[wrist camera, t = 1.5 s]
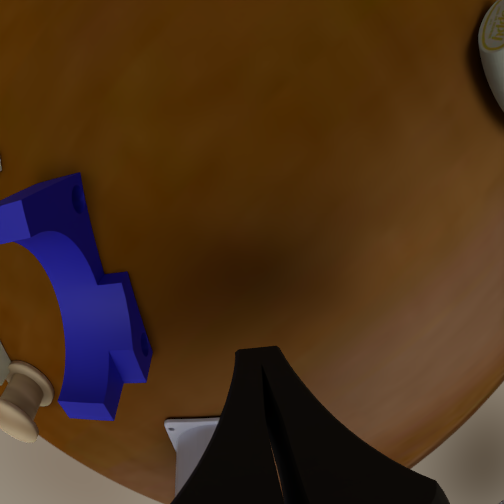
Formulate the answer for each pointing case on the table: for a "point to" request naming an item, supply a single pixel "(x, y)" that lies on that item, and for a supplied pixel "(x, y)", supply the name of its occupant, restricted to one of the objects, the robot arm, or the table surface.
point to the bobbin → (23, 400)
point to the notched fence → (3, 355)
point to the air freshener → (493, 49)
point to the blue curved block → (81, 296)
